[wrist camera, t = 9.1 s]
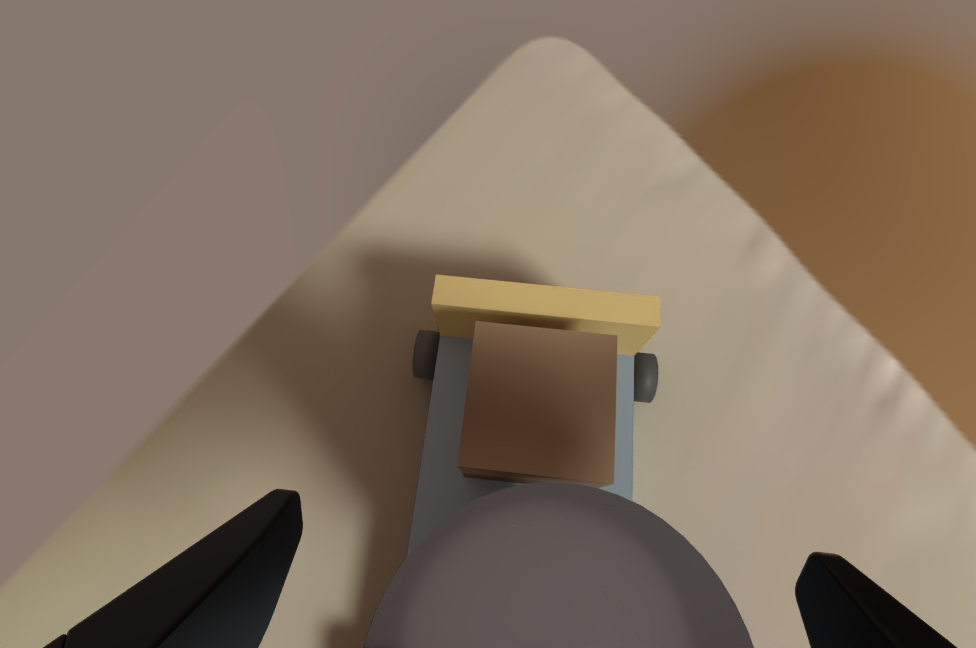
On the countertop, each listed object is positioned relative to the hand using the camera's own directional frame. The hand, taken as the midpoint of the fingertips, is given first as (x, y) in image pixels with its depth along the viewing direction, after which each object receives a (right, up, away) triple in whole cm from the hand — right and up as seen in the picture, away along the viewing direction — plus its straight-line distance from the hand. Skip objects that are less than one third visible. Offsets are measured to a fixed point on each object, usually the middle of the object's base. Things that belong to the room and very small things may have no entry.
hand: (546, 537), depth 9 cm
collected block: (0, 0, +8) cm, 8 cm away
